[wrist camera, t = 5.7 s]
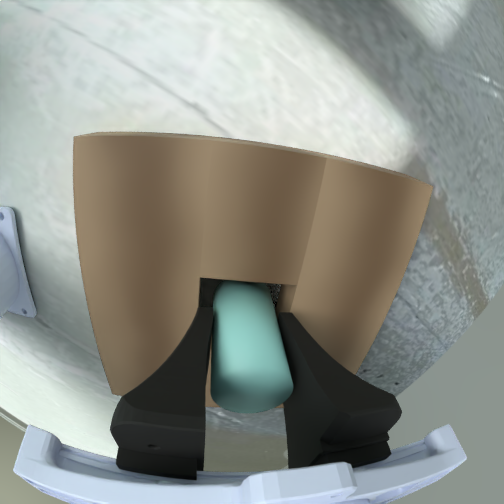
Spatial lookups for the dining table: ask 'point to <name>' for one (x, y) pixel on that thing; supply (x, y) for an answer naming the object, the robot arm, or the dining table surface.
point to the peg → (247, 349)
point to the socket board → (234, 240)
